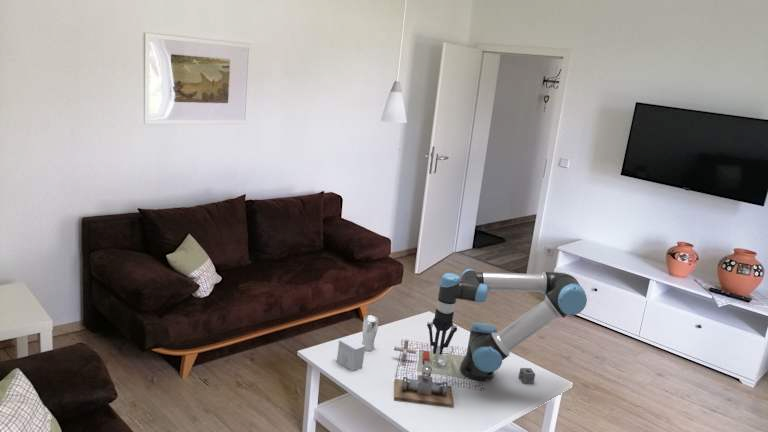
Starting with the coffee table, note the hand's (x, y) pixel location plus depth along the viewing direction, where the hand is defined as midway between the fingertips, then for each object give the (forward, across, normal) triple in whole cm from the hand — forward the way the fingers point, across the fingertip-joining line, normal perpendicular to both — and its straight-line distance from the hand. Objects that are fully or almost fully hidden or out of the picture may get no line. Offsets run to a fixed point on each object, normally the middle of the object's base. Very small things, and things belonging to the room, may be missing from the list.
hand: (435, 360), depth 262 cm
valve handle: (+1, +4, +5) cm, 7 cm away
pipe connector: (+11, +12, -16) cm, 23 cm away
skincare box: (+11, +36, -6) cm, 38 cm away
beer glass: (+11, +29, -23) cm, 39 cm away
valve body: (+10, +4, +11) cm, 16 cm away
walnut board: (+10, +4, +11) cm, 16 cm away
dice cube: (+10, -43, -11) cm, 45 cm away
